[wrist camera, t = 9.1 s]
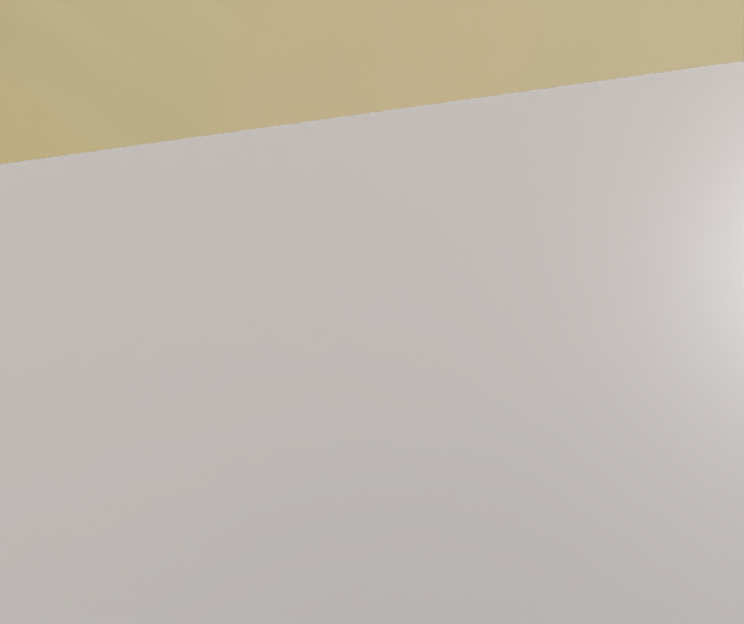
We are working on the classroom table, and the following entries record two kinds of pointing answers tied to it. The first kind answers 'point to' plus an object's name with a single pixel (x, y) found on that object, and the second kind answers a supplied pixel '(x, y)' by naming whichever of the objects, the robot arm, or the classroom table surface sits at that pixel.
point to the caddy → (384, 367)
